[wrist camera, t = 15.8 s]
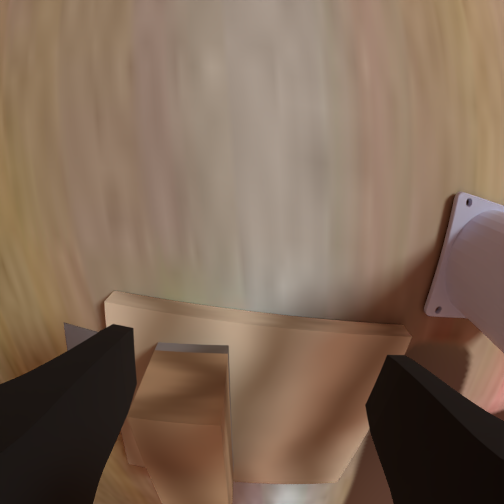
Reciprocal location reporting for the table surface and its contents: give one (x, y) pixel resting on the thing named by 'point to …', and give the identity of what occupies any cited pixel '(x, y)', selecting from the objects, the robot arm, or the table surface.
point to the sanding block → (186, 423)
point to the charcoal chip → (76, 335)
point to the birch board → (273, 381)
